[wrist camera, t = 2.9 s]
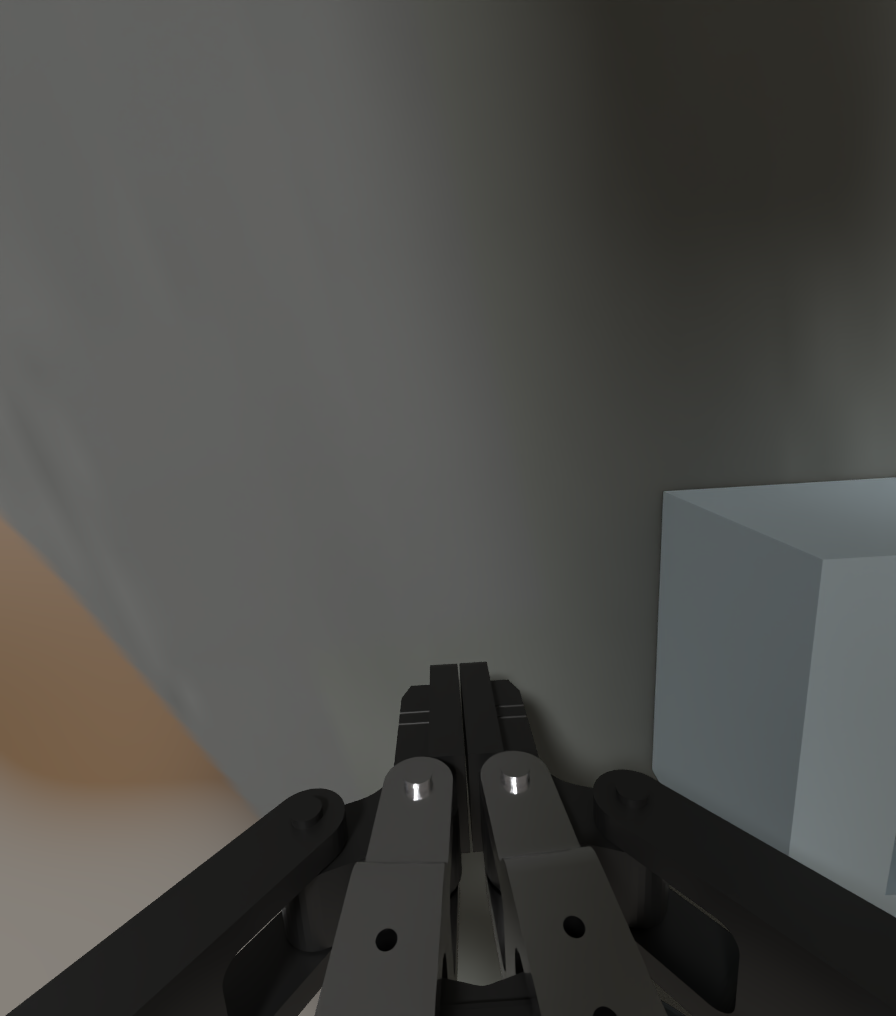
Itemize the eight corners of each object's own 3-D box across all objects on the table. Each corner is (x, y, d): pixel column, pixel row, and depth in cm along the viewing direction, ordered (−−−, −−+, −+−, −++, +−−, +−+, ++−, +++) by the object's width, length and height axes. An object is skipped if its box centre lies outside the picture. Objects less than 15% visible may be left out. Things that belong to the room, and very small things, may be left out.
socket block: (663, 491, 14) (823, 559, 8) (983, 472, 14) (1361, 526, 8) (651, 769, 16) (773, 981, 10) (932, 751, 16) (1209, 950, 10)
